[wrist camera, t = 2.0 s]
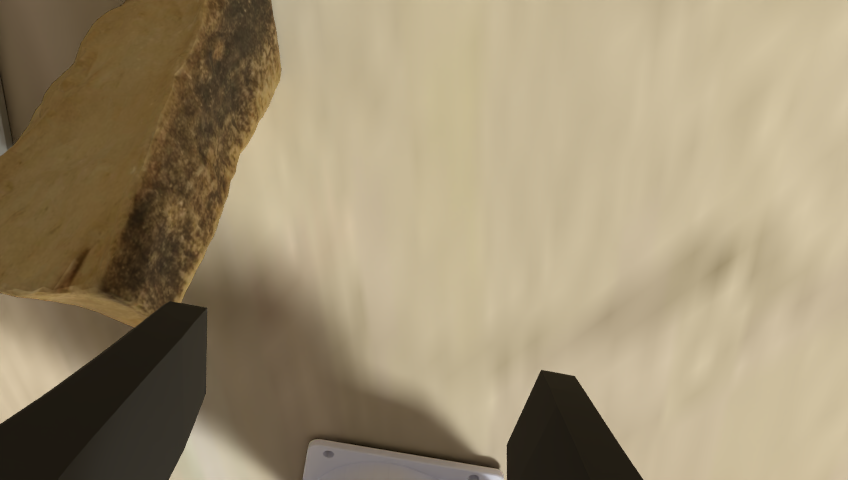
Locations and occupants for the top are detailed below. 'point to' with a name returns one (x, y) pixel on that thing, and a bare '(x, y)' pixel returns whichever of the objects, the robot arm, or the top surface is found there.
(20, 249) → the rock
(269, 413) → the top surface
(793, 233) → the top surface
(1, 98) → the mat
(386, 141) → the top surface
